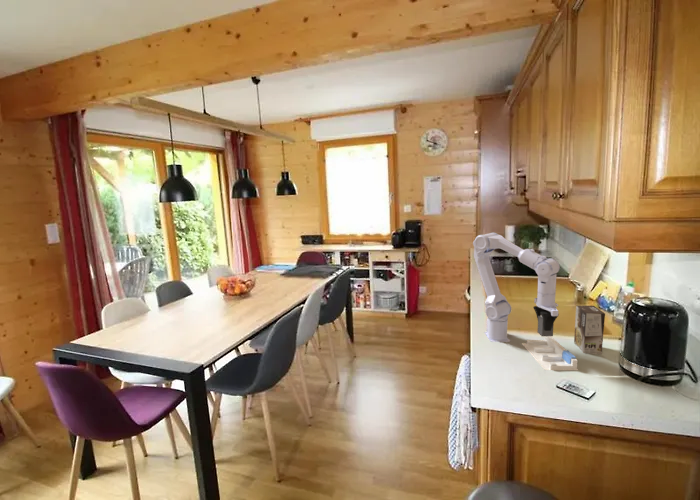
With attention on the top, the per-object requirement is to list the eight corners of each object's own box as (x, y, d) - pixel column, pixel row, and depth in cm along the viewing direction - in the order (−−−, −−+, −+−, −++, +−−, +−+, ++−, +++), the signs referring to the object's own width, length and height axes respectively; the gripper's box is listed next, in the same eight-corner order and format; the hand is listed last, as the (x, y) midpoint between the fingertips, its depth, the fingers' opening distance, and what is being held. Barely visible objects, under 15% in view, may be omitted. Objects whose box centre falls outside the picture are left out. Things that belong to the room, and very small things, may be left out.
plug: (537, 332, 135) (538, 314, 133) (548, 332, 134) (548, 314, 133) (542, 336, 131) (542, 318, 130) (552, 336, 131) (553, 318, 129)
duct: (521, 344, 143) (521, 333, 142) (550, 344, 142) (550, 333, 141) (544, 371, 122) (545, 359, 121) (578, 371, 121) (579, 359, 120)
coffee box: (602, 355, 131) (606, 313, 128) (583, 354, 133) (586, 313, 130) (591, 344, 140) (594, 305, 137) (573, 343, 141) (575, 304, 138)
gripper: (568, 298, 122) (566, 335, 125) (548, 286, 137) (547, 320, 139) (546, 298, 123) (545, 336, 125) (529, 287, 137) (528, 320, 139)
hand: (544, 327), depth 132 cm, fingers closed on plug, 4 cm apart
